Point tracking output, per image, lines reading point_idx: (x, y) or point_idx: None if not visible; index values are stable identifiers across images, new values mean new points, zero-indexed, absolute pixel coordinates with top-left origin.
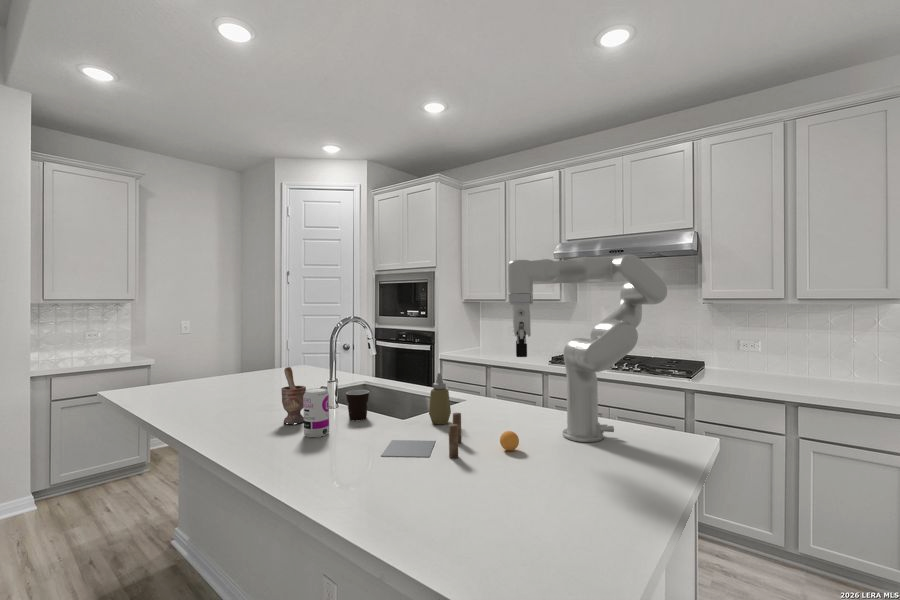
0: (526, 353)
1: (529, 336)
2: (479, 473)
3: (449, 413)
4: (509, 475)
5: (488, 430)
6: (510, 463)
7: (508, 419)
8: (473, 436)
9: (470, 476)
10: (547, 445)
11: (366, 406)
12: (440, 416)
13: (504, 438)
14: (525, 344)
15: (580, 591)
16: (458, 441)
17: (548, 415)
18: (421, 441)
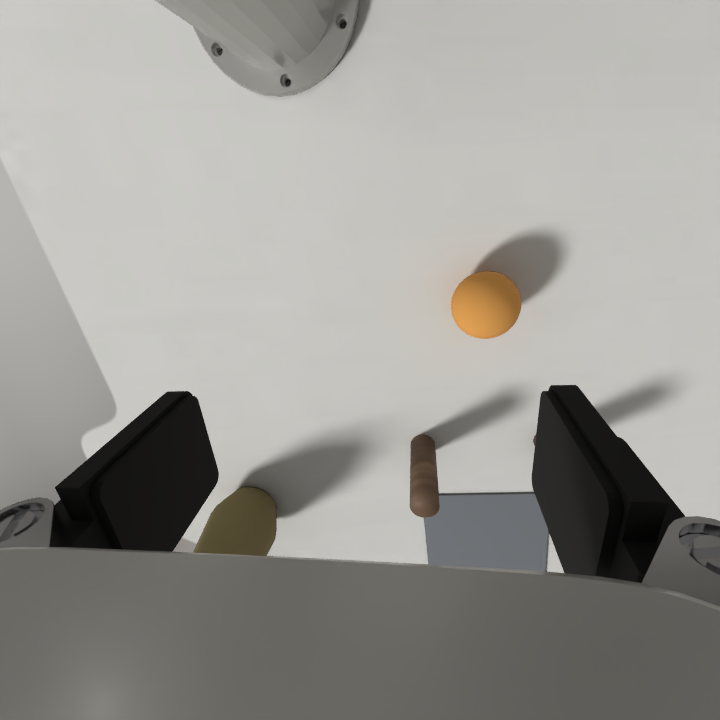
0: (586, 409)
1: (674, 592)
2: (681, 365)
3: (246, 503)
4: (709, 282)
5: (290, 373)
6: (604, 285)
7: (147, 320)
8: (360, 409)
9: (702, 385)
10: (415, 162)
11: None
12: (273, 520)
13: (513, 324)
14: (654, 513)
15: None
16: (433, 444)
17: (28, 165)
18: (432, 523)
